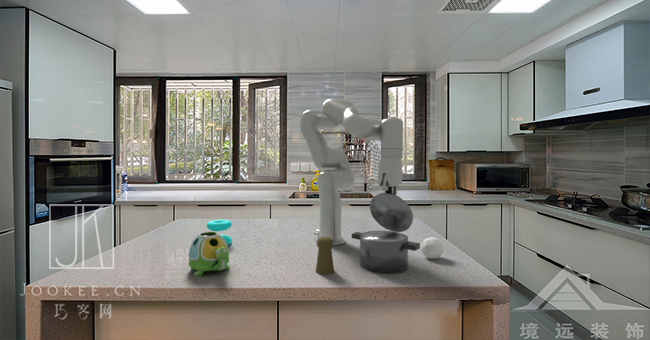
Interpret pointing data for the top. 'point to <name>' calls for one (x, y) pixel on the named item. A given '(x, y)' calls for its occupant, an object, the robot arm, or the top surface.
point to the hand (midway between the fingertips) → (390, 205)
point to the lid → (391, 212)
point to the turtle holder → (208, 253)
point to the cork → (324, 256)
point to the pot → (384, 251)
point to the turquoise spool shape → (220, 228)
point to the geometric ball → (432, 248)
